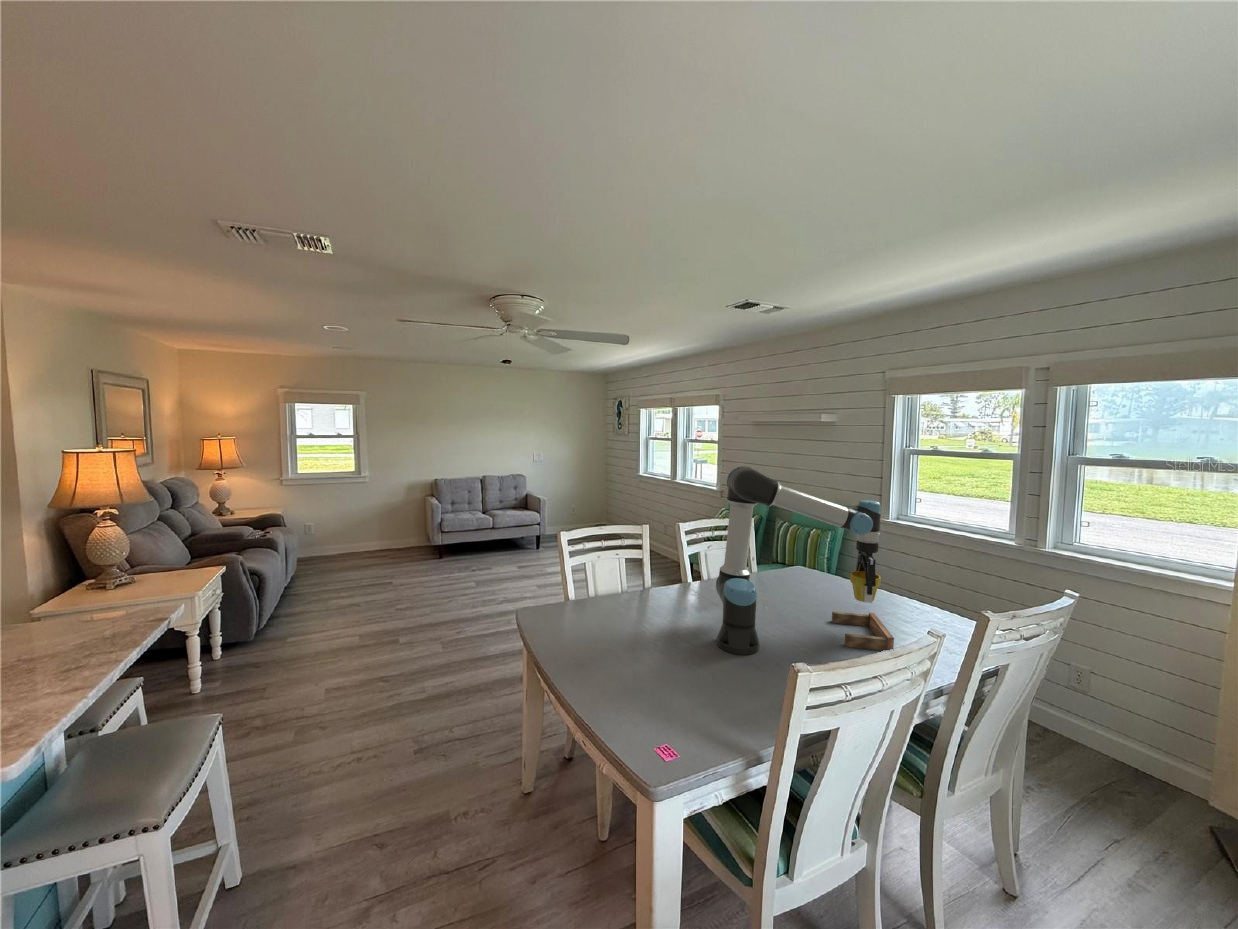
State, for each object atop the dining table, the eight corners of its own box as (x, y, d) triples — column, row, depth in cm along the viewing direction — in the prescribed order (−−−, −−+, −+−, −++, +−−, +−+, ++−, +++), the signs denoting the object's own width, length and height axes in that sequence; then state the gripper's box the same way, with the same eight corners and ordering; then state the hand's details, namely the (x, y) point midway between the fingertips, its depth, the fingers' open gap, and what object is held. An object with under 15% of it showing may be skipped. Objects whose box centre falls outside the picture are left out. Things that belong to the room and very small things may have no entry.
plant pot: (861, 605, 184) (862, 579, 183) (843, 595, 194) (844, 571, 193) (885, 603, 186) (887, 578, 185) (866, 594, 196) (868, 570, 195)
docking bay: (845, 646, 181) (846, 633, 181) (831, 620, 205) (832, 609, 204) (893, 651, 178) (894, 638, 178) (873, 624, 201) (874, 612, 201)
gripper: (888, 549, 176) (884, 609, 178) (869, 534, 198) (866, 588, 200) (865, 547, 178) (861, 607, 180) (849, 533, 200) (846, 587, 202)
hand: (864, 597), depth 190 cm, fingers closed on plant pot, 10 cm apart
